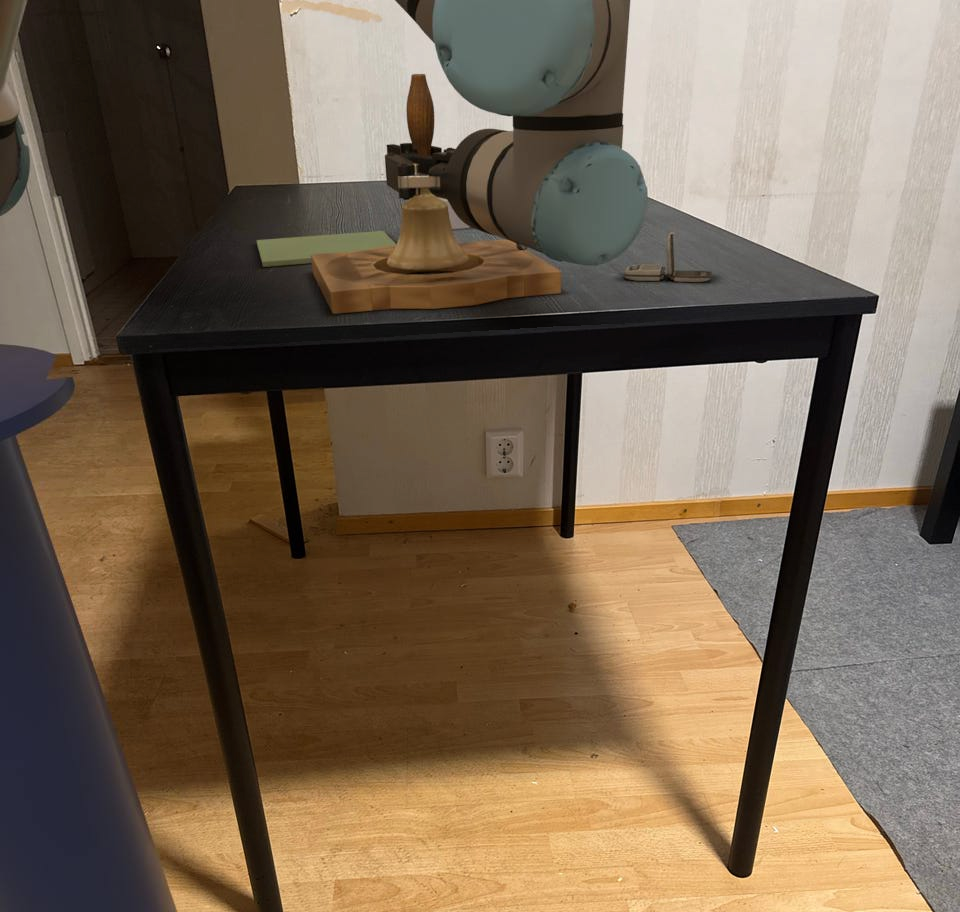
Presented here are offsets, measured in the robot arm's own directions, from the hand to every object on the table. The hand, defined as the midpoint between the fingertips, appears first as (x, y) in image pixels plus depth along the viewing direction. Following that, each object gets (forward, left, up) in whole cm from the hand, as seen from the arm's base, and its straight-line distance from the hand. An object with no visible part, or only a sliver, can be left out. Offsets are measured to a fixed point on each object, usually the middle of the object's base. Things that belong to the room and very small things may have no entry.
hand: (402, 159), depth 88 cm
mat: (-7, +17, -11) cm, 21 cm away
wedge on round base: (+13, +30, -11) cm, 34 cm away
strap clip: (+24, -12, -11) cm, 29 cm away
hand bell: (+1, -5, -9) cm, 10 cm away
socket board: (+1, -5, -11) cm, 12 cm away
